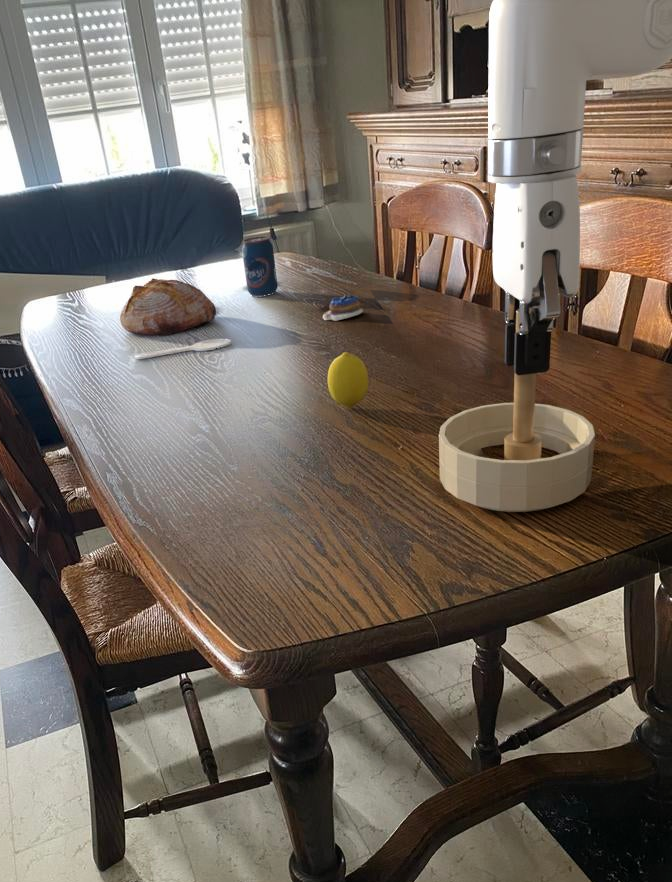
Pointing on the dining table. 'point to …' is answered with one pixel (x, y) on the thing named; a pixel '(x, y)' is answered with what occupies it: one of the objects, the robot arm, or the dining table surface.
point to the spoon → (187, 348)
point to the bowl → (515, 479)
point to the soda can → (259, 266)
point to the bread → (165, 308)
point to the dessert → (343, 308)
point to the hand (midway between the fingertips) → (526, 366)
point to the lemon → (348, 380)
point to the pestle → (523, 418)
